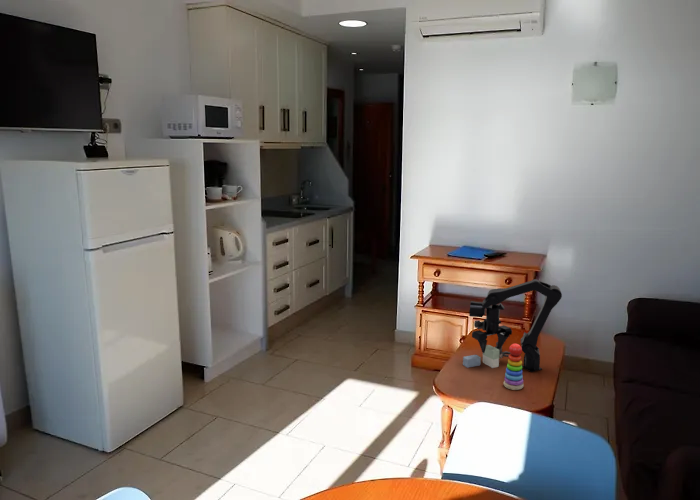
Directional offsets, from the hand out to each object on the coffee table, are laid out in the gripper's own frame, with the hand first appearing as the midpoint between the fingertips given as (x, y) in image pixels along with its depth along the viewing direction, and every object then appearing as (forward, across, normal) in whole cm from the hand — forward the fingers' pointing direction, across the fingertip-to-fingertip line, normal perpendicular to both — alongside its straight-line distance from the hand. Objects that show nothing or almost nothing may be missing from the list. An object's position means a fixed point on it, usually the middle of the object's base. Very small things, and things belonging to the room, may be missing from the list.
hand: (491, 350), depth 245 cm
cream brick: (+7, 0, 0) cm, 7 cm away
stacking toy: (+7, +7, +22) cm, 24 cm away
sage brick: (+3, 0, 0) cm, 3 cm away
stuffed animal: (+7, -12, -9) cm, 17 cm away
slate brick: (+7, +8, -4) cm, 11 cm away
